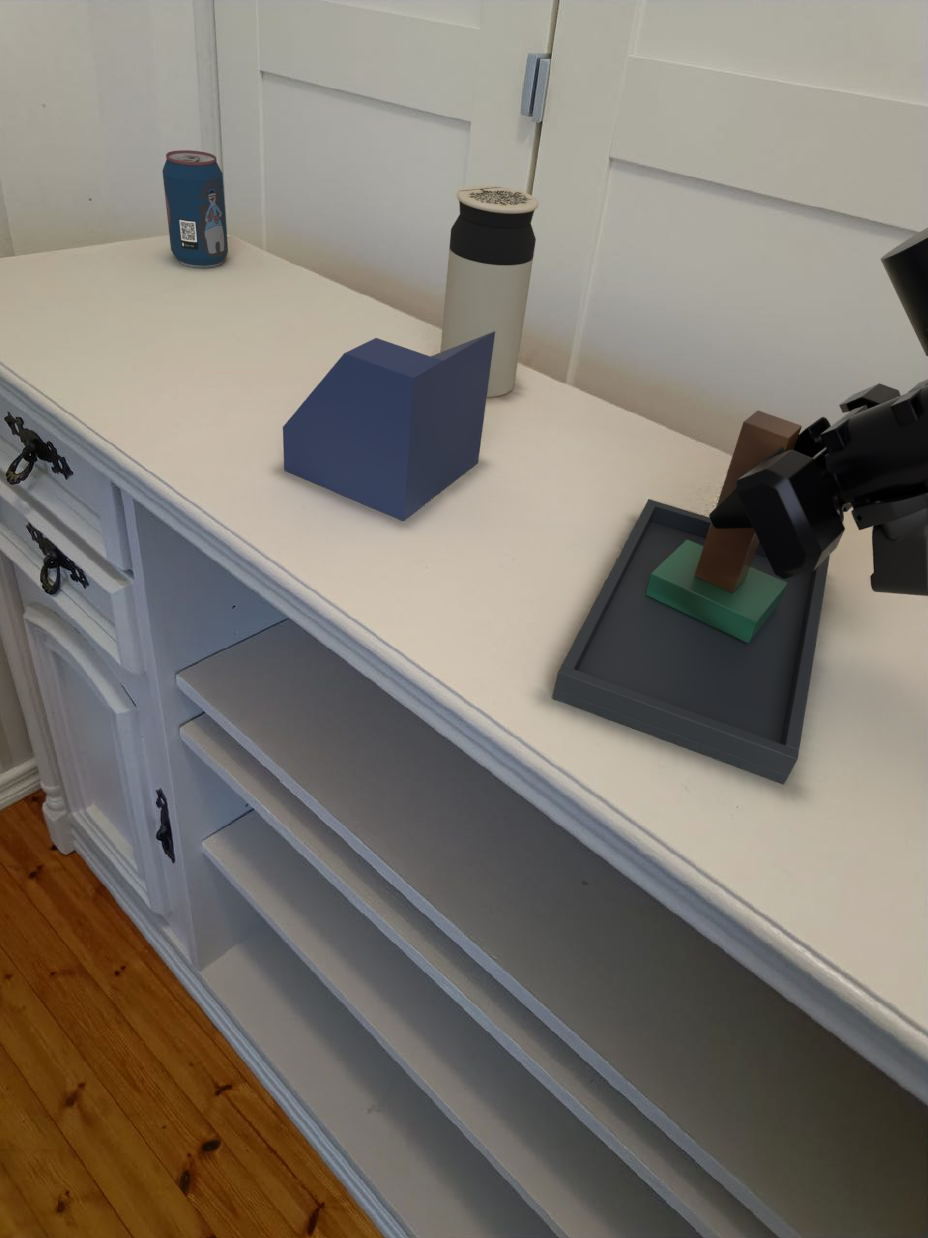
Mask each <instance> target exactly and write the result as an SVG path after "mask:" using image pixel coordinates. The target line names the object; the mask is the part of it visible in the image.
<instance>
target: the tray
mask: <svg viewBox="0 0 928 1238" xmlns="http://www.w3.org/2000/svg"><path fill="white" fill-rule="evenodd" d="M710 525H711V520H710V517H709V516H706V515H703V514H700V513H696V512H693V511H691V510H686V509H683V508H681V507H676V506H673V505H670V504H666V503H663V502H661V501H657V500H655V499H650V498H648V499H647V501H646V503H645V505H644V506H643V509H642V510H641V512H640V515H639V516H638V518H637V520H636V522H635V524H634V526H633V528H632V529H631V531H630V533H629V536H628V538H627V539H626V541H625V543H624V545H623V547H622V549H621V551H620V553H619V554H618V556H617V559H616V560H615V563H614V564H613V566H612V568H611V570H610V571H609V574H608V576H607V578H606V580H605V581H604V583H603V585H602V587H601V588H600V591H599V593H598V595H597V597H596V598H595V601H594V602H593V604H592V606H591V608H590V610H589V612H588V614H587V616H586V618H585V619H584V622H583V624H582V626H581V627H580V630H579V631H578V633H577V635H576V637H575V639H574V641H573V643H572V644H571V646H570V648H569V650H568V651H567V654H566V656H565V658H564V660H563V662H562V664H561V666H560V668H559V669H558V671H557V676H556V680H555V683H554V688H553V692H552V696H551V698H552V699H553V700H556V701H558V702H561V703H564V704H566V705H570V706H572V707H574V708H577V709H580V710H583V711H585V712H587V713H591V714H593V715H596V716H599V717H602V718H604V719H606V720H610V721H612V722H615V723H618V724H620V725H623V726H625V727H628V728H631V729H633V730H636V731H639V732H641V733H644V734H647V735H650V736H652V737H654V738H658V739H661V740H663V741H666V742H668V743H671V744H674V745H677V746H679V747H682V748H685V749H688V750H690V751H693V752H695V753H697V754H701V755H703V756H705V757H709V758H712V759H715V760H717V761H719V762H722V763H724V764H727V765H730V766H733V767H736V768H738V769H741V770H744V771H746V772H749V773H751V774H755V775H758V776H760V777H763V778H765V779H768V780H771V781H773V782H776V783H779V784H782V785H784V784H786V782H787V781H788V778H789V776H790V775H791V772H792V771H793V769H794V767H795V766H796V763H797V761H798V760H799V754H800V748H801V747H800V746H801V742H802V741H801V740H802V734H803V728H804V720H805V716H806V709H807V704H808V697H809V690H810V685H811V678H812V671H813V664H814V659H815V652H816V646H817V639H818V633H819V628H820V621H821V616H822V609H823V602H824V596H825V595H824V594H825V589H826V583H827V576H828V570H829V564H830V557H831V554H830V555H829V556H828V557H827V558H826V559H825V560H824V561H823V562H822V563H821V564H820V565H819V566H818V567H817V568H816V569H815V570H814V571H812V572H808V573H805V574H801V575H797V576H794V577H790V578H786V579H782V578H780V577H779V576H777V575H775V573H774V571H773V569H772V567H771V565H770V562H769V560H768V558H767V556H766V554H765V552H764V550H763V548H762V545H761V543H760V542H759V544H758V547H757V550H756V553H755V555H754V558H753V561H752V563H751V566H750V567H752V568H754V569H757V570H759V571H761V572H764V573H766V574H768V575H771V576H773V577H775V578H777V579H780V580H782V581H784V582H787V586H786V589H785V591H784V594H783V596H782V599H781V601H780V604H779V605H778V606H777V608H776V609H775V610H774V611H773V613H772V614H771V615H770V617H769V618H768V619H767V620H766V622H765V623H764V624H763V625H762V627H761V628H760V629H759V630H758V632H757V633H756V634H755V636H754V637H753V638H752V639H751V641H750V642H749V643H746V642H744V641H742V640H740V639H738V638H735V637H733V636H731V635H729V634H727V633H725V632H723V631H721V630H719V629H716V628H714V627H712V626H710V625H708V624H706V623H704V622H702V621H700V620H698V619H695V618H693V617H691V616H689V615H687V614H685V613H683V612H681V611H679V610H676V609H674V608H672V607H670V606H668V605H666V604H664V603H662V602H660V601H658V600H655V599H653V598H651V597H649V596H647V595H645V594H646V590H647V586H648V583H649V579H650V576H651V573H652V572H653V571H654V570H655V569H656V568H657V567H658V566H659V565H660V564H661V563H662V562H664V561H665V560H666V559H667V558H668V557H669V556H670V555H671V554H672V553H673V552H674V551H675V550H676V549H677V548H678V547H679V546H680V545H682V544H683V543H684V542H685V541H686V540H690V541H692V542H694V543H697V544H699V545H701V546H704V544H705V540H706V537H707V534H708V531H709V528H710Z"/></svg>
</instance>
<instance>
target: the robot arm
mask: <svg viewBox="0 0 928 1238" xmlns="http://www.w3.org/2000/svg"><path fill="white" fill-rule="evenodd" d="M880 262H881V263H882V266H883V268H884V270H885V272H886V274H887V276H888V278H889V280H890V282H891V284H892V286H893V287H892V288H893V289H894V291H895V293H896V295H897V297H898V300H899V302H900V303H901V306H902V308H903V310H904V312H905V314H906V316H907V318H908V320H909V323H910V325H911V327H912V329H913V332H914V333H915V335H916V337H917V339H918V342H919V344H920V346H921V348H922V350H923V352H924V354H925V356H926V357H928V227H926V228H924V229H923V230H921V231H919V232H917V233H916V234H914V235H913V236H911V237H909V238H908V239H906V240H904V241H903V242H902V243H900V244H898V245H897V246H896V247H893V248H892V249H891V250H889V251H888V252H887V253H885V254H884V255H882V256H881V257H880ZM838 406H839V408H840V410H841V413H842V414H844V416H842V417H841V418H840V419H838V420H837V421H836V422H835V423H833V424H832V425H831V423H830V421H829V419H828V418H827V417H825V416H821V417H820V418H818V419H816V420H815V421H814V422H812V423H811V424H810V425H808V426H807V427H806V428H804V429H803V430H802V431H800V433H799V436H798V439H797V441H796V444H795V447H794V449H793V450H789V451H787V452H785V450H784V448H783V446H782V447H780V448H779V449H777V450H776V451H775V452H773V453H772V454H770V455H769V456H768V457H766V458H765V459H764V460H763V461H762V462H760V464H759V465H757V466H755V467H754V468H753V469H751V470H750V471H749V472H747V473H746V474H745V475H743V476H742V477H741V478H739V479H738V480H737V487H736V489H734V490H733V491H732V492H731V493H730V494H729V495H728V496H727V497H726V498H725V499H724V500H723V501H722V502H721V503H720V504H719V505H718V506H717V505H716V506H717V507H715V508H714V509H712V510H711V512H710V513H709V514H708V517H710V520H711V522H712V524H713V526H714V527H715V528H716V529H731V528H754V531H755V533H756V535H757V537H758V539H759V541H760V543H761V545H762V548H763V550H764V552H765V554H766V556H767V558H768V560H769V562H770V565H771V567H772V569H773V571H774V573H775V575H777V576H779V577H780V578H782V579H786V578H790V577H794V576H797V575H801V574H805V573H808V572H812V571H814V570H815V569H816V568H817V567H818V566H819V565H820V564H821V563H822V562H823V561H824V560H825V559H826V558H827V557H828V556H829V555H830V556H831V554H832V553H833V552H835V550H836V549H837V547H838V546H839V543H840V541H841V539H842V537H843V535H844V533H845V530H846V527H845V525H844V521H845V513H847V512H848V511H850V510H851V513H850V514H851V516H852V518H853V520H854V522H855V524H856V526H857V529H858V531H863V530H865V529H869V528H872V529H871V530H872V532H871V546H872V566H873V568H872V569H873V571H872V573H871V575H870V577H869V578H870V579H869V580H870V587H871V590H872V591H873V592H874V593H882V594H883V593H885V594H897V595H908V596H909V595H911V596H922V597H928V379H925V380H923V381H920V382H918V383H917V384H916V385H915V386H913V387H912V388H911V389H909V391H907V392H906V393H904V394H902V395H901V393H900V390H899V389H896V388H894V387H891V386H888V385H886V384H883V383H876V384H874V385H871V386H870V387H867V388H865V389H863V390H861V391H858V392H856V393H853V394H852V395H851V396H849V397H848V398H847V399H845V400H844V401H842V402H841V403H839V404H838ZM845 413H847V414H845ZM851 508H852V509H851Z"/></svg>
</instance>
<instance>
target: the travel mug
mask: <svg viewBox="0 0 928 1238" xmlns="http://www.w3.org/2000/svg"><path fill="white" fill-rule="evenodd" d="M456 198H457V200H458V203H459V215H458V217H457V218H456V220H455V221H454V223H453V224H452V225H451V229H450V237H449V249H448V251H449V252H448V260H447V262H448V263H447V271H446V273H447V274H446V283H445V293H444V305H443V306H444V307H443V315H442V316H443V318H442V327H441V328H442V330H441V341H440V350H439V351H440V352H443V351H445V350H448V349H451V348H453V347H456V346H458V345H461V344H463V343H466V342H469V341H471V340H474V339H476V338H479V337H481V336H484V335H486V334H489V333H492V332H494V331H495V337H494V345H493V353H492V360H491V368H490V376H489V383H488V391H487V398H493V397H494V398H495V397H498V396H502V395H505V394H508V393H509V392H511V391H512V390H513V389H514V387H515V383H516V376H517V369H518V363H519V356H520V350H521V342H522V337H523V336H522V335H523V328H524V322H525V316H526V315H525V314H526V308H527V302H528V295H529V289H530V280H531V276H532V268H533V261H534V254H535V248H536V242H537V238H536V235H535V232H534V229H533V225H532V221H533V217H534V214H535V211H536V210H537V209H538V207H539V201H538V199H537V198H536V197H535V196H533V195H532V194H529V193H527V192H524V191H521V190H518V189H513V188H509V187H503V186H495V185H469V186H464V187H462V188H460V189H459V190H458V191H457V192H456ZM440 352H439V353H440Z"/></svg>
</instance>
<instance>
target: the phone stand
mask: <svg viewBox="0 0 928 1238" xmlns="http://www.w3.org/2000/svg"><path fill="white" fill-rule="evenodd" d="M494 337H495V331H494V332H492V333H489V334H486V335H484V336H481V337H479V338H476V339H474V340H471V341H469V342H466V343H463V344H461V345H458V346H456V347H453V348H451V349H448V350H445V351H443V352H438V353H435V354H432V355H427V354H424V353H422V352H418V351H417V350H413V349H410V348H407V347H404V346H401V345H399V344H395V343H393V342H389V341H386V340H384V339H381V338H378V337H374V338H373V339H370V340H368V341H366V342H364V343H362V344H360V345H358V346H355V347H354V348H352V349H350V350H348V351H345V352H344V353H343V354H341V355H342V356H340V358H339V359H337V361H336V362H335V363H334V365H333V366H331V368H330V369H329V370H328V372H327V373H326V374H325V376H323V378H322V379H321V380H320V382H319V383H318V384H317V385H316V387H315V388H314V389H313V390H312V391H311V393H309V395H308V396H307V397H306V398H305V399H304V401H303V402H302V403H301V404H300V406H299V407H298V408H297V409H296V410H295V412H294V413H293V414H292V415H291V416H290V418H289V419H288V420H287V421H286V422H285V424H284V425H283V426H282V445H283V446H282V448H283V470H284V472H287V473H290V474H291V475H294V476H297V477H299V478H301V479H304V480H306V481H309V482H310V483H313V484H315V485H317V486H320V487H322V488H325V489H327V490H329V491H332V492H334V493H336V494H339V495H341V496H344V497H346V498H348V499H351V500H352V501H354V502H355V501H356V502H358V503H360V504H363V505H365V506H367V507H369V508H372V509H374V510H376V511H379V512H381V513H384V514H385V515H388V516H390V517H392V518H395V519H397V520H400V521H402V522H404V521H406V520H407V519H408V518H409V517H411V516H412V515H414V514H415V513H416V512H417V511H418V510H420V509H421V508H423V507H424V506H425V505H426V504H427V503H429V502H430V501H431V500H433V499H435V497H436V496H438V495H439V494H440V493H441V492H443V491H444V490H446V489H447V488H448V487H449V486H451V485H452V484H454V483H455V482H456V481H457V480H459V479H460V478H461V477H463V476H464V475H465V474H466V473H467V472H469V471H470V470H472V469H473V468H474V467H475V466H477V465H478V464H479V460H480V452H481V443H482V437H483V428H484V421H485V415H486V406H487V399H488V397H487V391H488V383H489V376H490V368H491V360H492V353H493V345H494Z"/></svg>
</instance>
